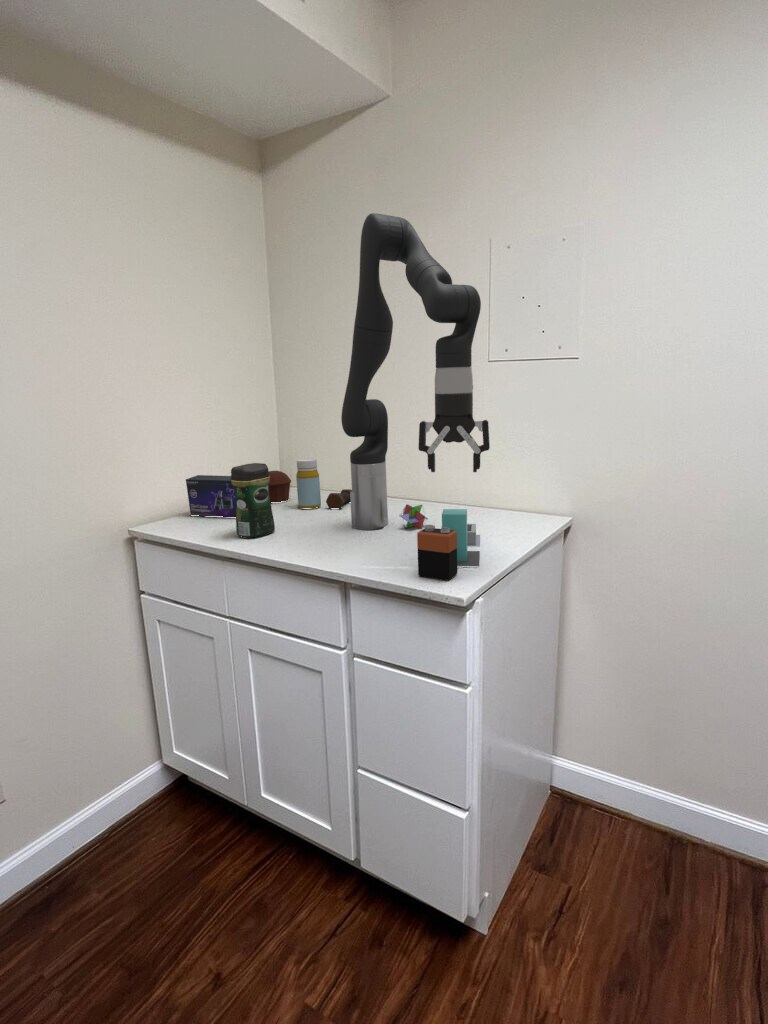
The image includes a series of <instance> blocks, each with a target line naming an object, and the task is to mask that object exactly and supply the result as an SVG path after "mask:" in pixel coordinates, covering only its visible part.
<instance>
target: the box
mask: <svg viewBox="0 0 768 1024" xmlns="http://www.w3.org/2000/svg"><path fill="white" fill-rule="evenodd" d="M185 484H186V485H185V486H186V490H187V498H188V506H189V512H190V516H191V515H199V516H223V517H236V497H235V490H234V487H233V485H232V482H231V475H212V474H211V475H208V474H207V475H206V474H205V475H203V474H202V475H201V474H198V475H195V476H191V477H189V478H185Z"/></svg>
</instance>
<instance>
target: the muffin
mask: <svg viewBox="0 0 768 1024" xmlns="http://www.w3.org/2000/svg"><path fill="white" fill-rule="evenodd" d="M268 471H269V475H270V481H269V496H270V502H281V501H286V500H288V499H289V500H290V490H291V489H290V488H291V482H292V480H291V479H290V477H289V476H288V474H286V473H285V472H283V471H281V470H268ZM286 502H287V501H286Z"/></svg>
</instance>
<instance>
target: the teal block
mask: <svg viewBox="0 0 768 1024" xmlns="http://www.w3.org/2000/svg"><path fill="white" fill-rule="evenodd" d="M467 524H468V509H467V508H444V509H442V513H441V527H442V528H443V527H448V528H449V530H455V531H456V532H457V561H467V551H468V546H467Z"/></svg>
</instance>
